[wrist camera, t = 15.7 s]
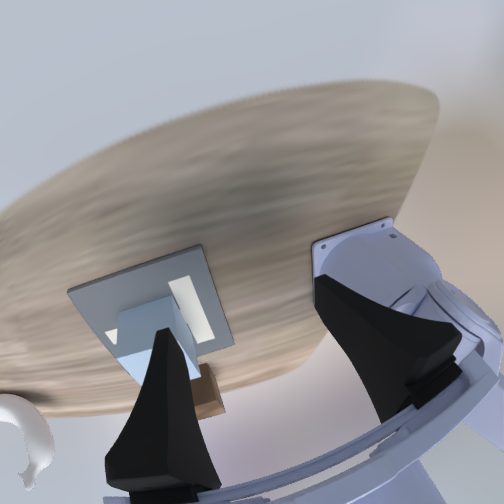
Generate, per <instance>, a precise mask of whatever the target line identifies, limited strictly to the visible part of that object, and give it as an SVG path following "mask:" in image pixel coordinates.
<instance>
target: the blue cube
mask: <svg viewBox="0 0 504 504" xmlns="http://www.w3.org/2000/svg"><path fill="white" fill-rule="evenodd" d="M168 327H169V328H170V330H171V332H172V334H173V335H174V337H175V339H176V340H177V342H178V344H179V345H180V347H181V349H182V350H183V352H184V355H185V359H186V363H187V367H188V371H189V376H190V380H191V379H195V378H198V377H201V374H200V369H199V365H198V361H197V356H196V352H195V347H194V343H193V338H192V333H191V331H190V330H189V328H188V326H187V324H186V322H185V320H184V318H183V316H182V314H181V312H180V310H179V308H178V306H177V304H176V302H175V300H174V298H173V296H172V295H170V296H167V297H164V298H161V299H158V300H155V301H152V302H149V303H146V304H143V305H140V306H137V307H134V308H131V309H128V310H124V311H121V312H119V314H118V327H117V344H116V359H117V360H118V362H119V363H120V364H121V365H122V366H123V367H124V368H125V369H126V370H127V371H128V373H129V374H130V375H131V376H132V377H133V378H134V379H135V380H136V381H137V382H138V383H139V384H140V385H141V386H142V384H143V381H144V378H145V375H146V371H147V368H148V364H149V360H150V356H151V352H152V348H153V343H154V339H155V334H156V331H158V330H161V329H164V328H168Z"/></svg>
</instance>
